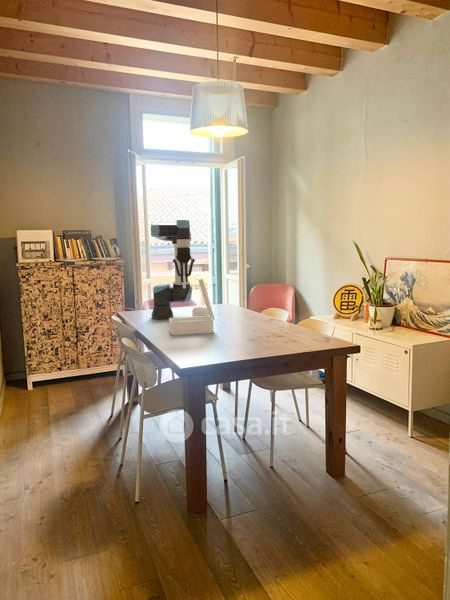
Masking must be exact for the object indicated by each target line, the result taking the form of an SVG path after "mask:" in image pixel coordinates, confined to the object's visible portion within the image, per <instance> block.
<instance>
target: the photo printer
mask: <svg viewBox="0 0 450 600" xmlns="http://www.w3.org/2000/svg"><path fill="white" fill-rule="evenodd" d="M191 315H192V316H191V317H198V316H209V314H208V310H207V307H206V306H205V307H203V306H195V307H193V308H192V313H191ZM209 317H210V316H209Z"/></svg>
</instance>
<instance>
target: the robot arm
mask: <svg viewBox="0 0 450 600" xmlns="http://www.w3.org/2000/svg"><path fill="white" fill-rule="evenodd" d="M190 227H191V224H190V220H189V219H177V220H176V222H175V223H153V224H151V225H150V236H151V237H152V238H156V239H158V240H159V241H160V240H161V241H164V242H171V244H172V245H173V246H174V247H173V249H174V259H172V262H173V263H174V281H173V282H172V285H171V283H161V284H156V285H154V286H153V288H152V294H153V297H152V298H153V308H152V311H151V314H150V315H151V319H154V320H169V318H174V312H173V309H172V306H171V303H188V302H190V301H191V300H192V294H193V292H192V291H193V285H191V283H190V281H189V280H188V279H189V278H188V277H191V275H192V273H193V272H192V271H193V267H194V262H195V261H196V259H194V258H193V257H192V256H191V247H190V246H191V241H192V233H191V229H190ZM189 262H190V263H189ZM188 263H189V264H190V265H189V266H188ZM188 267H189V269H188Z"/></svg>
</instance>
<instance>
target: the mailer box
mask: <svg viewBox="0 0 450 600" xmlns="http://www.w3.org/2000/svg"><path fill="white" fill-rule="evenodd" d="M168 324H169V333H170V335H171V336H173V337H175V336H177V335H178V336H189V335H190V336H191V335H207V334H214V320H213V319H212V318H211V317H210V316H198V317H192V316H183V317H182V316H181V317H173V318H169V319H168Z"/></svg>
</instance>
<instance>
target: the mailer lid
mask: <svg viewBox="0 0 450 600" xmlns="http://www.w3.org/2000/svg"><path fill="white" fill-rule="evenodd" d="M195 280H196V281H198V283H199V286H200V290H201V293H202V296H203V299H204V304H205V308H207V310H208V314H209V317H211V318H212V319H213V321H214V320H216V319H215V316H214V312H213V308H212V305H211V303H210V302H211V301H210V299H209V295H208V292H207V288H206V285H205V282H204V279H203V278H202V277H200V276H196V277H195Z"/></svg>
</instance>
